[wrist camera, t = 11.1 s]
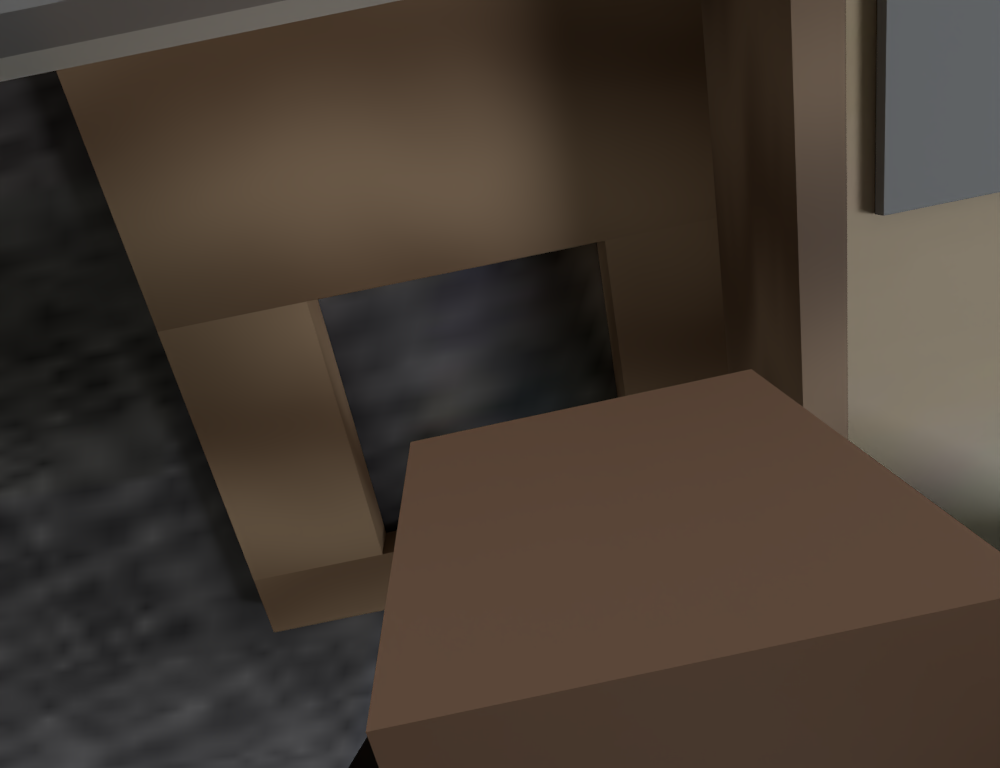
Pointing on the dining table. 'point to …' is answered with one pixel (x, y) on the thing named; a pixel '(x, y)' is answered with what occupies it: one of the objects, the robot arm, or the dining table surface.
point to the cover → (133, 27)
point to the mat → (936, 102)
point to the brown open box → (467, 218)
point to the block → (681, 597)
